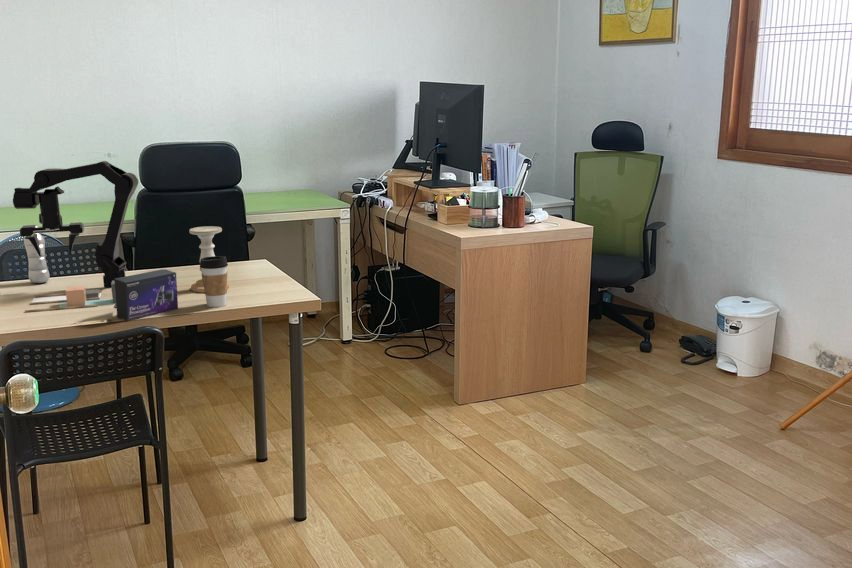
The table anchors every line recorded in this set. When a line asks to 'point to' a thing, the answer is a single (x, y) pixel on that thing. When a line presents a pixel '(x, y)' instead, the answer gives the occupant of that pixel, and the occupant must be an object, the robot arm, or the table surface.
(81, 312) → the table surface
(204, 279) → the coffee cup
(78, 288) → the cube
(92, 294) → the strip
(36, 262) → the plastic bottle
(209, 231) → the candle holder
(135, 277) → the box
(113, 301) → the strip
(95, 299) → the lane rails
